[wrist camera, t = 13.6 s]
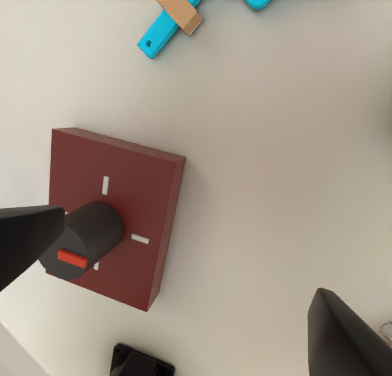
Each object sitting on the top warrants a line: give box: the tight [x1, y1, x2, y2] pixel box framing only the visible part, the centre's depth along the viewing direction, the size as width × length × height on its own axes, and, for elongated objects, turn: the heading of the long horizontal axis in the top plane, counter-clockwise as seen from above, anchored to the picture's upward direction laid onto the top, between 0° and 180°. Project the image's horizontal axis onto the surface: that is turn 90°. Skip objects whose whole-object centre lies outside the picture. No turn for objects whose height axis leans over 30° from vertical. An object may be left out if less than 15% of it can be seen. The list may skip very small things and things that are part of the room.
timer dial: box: [39, 202, 124, 280], centre depth 19 cm, size 4×4×5 cm
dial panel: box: [46, 128, 186, 312], centre depth 23 cm, size 13×10×3 cm
